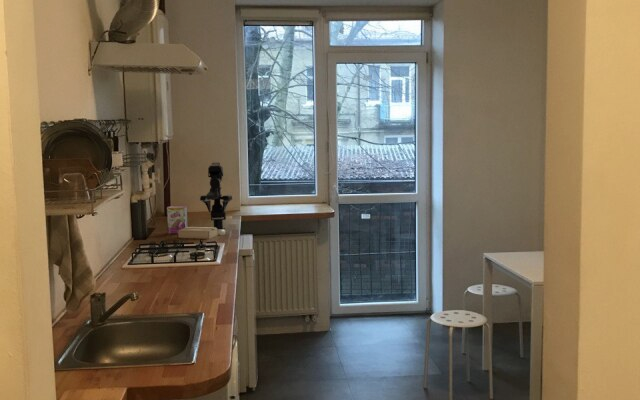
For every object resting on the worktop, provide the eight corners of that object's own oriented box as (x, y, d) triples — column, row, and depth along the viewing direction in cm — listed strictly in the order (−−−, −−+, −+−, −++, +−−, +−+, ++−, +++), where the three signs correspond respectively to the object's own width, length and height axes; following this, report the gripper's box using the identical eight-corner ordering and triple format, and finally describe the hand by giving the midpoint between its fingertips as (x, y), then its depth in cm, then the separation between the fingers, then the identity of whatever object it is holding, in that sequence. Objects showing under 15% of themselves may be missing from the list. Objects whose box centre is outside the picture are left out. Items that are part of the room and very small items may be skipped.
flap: (188, 227, 403) (188, 226, 403) (216, 228, 398) (216, 227, 398) (184, 228, 398) (184, 227, 398) (212, 229, 393) (212, 228, 393)
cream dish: (216, 233, 406) (216, 229, 406) (227, 233, 404) (226, 229, 404) (211, 235, 400) (211, 230, 399) (222, 235, 398) (222, 231, 397)
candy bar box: (167, 234, 407) (166, 207, 405) (170, 232, 412) (169, 206, 410) (185, 234, 406) (184, 207, 404) (188, 232, 411) (186, 206, 409)
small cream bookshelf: (187, 234, 404) (187, 226, 403) (218, 235, 398) (217, 227, 397) (177, 238, 392) (177, 230, 392) (209, 238, 387) (208, 230, 386)
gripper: (195, 187, 396) (196, 213, 398) (224, 187, 391) (225, 214, 393) (203, 185, 407) (204, 211, 409) (232, 185, 401) (233, 211, 403)
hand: (216, 212), depth 403 cm, fingers open, 9 cm apart
